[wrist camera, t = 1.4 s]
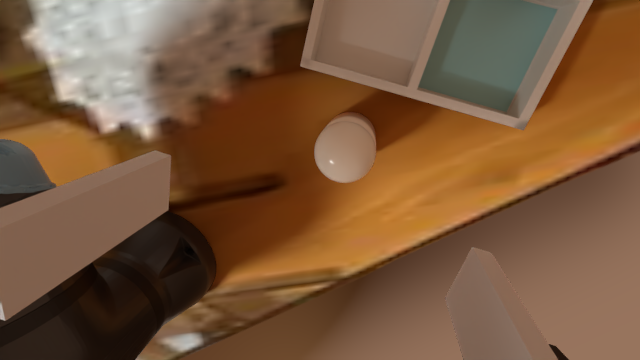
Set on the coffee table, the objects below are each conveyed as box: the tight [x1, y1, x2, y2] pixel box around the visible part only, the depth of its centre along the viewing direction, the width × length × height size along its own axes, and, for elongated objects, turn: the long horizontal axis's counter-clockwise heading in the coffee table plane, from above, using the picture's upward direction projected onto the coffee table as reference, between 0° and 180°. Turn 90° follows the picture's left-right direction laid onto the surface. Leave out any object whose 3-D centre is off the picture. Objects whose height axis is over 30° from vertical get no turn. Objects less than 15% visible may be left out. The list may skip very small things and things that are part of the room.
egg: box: [314, 112, 376, 183], centre depth 28 cm, size 6×6×9 cm
